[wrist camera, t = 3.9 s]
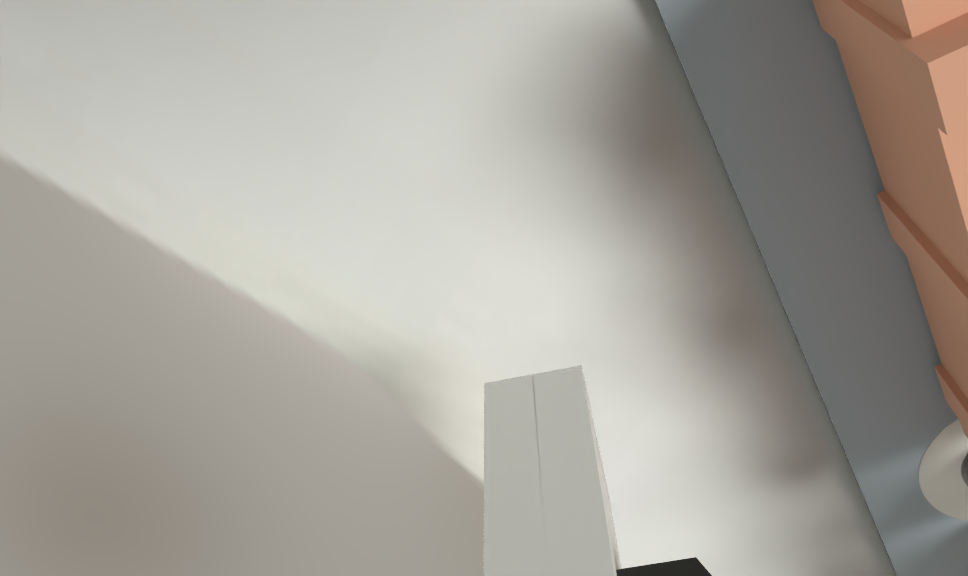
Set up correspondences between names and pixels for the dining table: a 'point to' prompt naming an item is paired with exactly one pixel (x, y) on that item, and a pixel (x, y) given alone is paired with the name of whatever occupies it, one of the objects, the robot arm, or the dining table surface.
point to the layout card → (833, 260)
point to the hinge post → (965, 470)
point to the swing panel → (918, 150)
